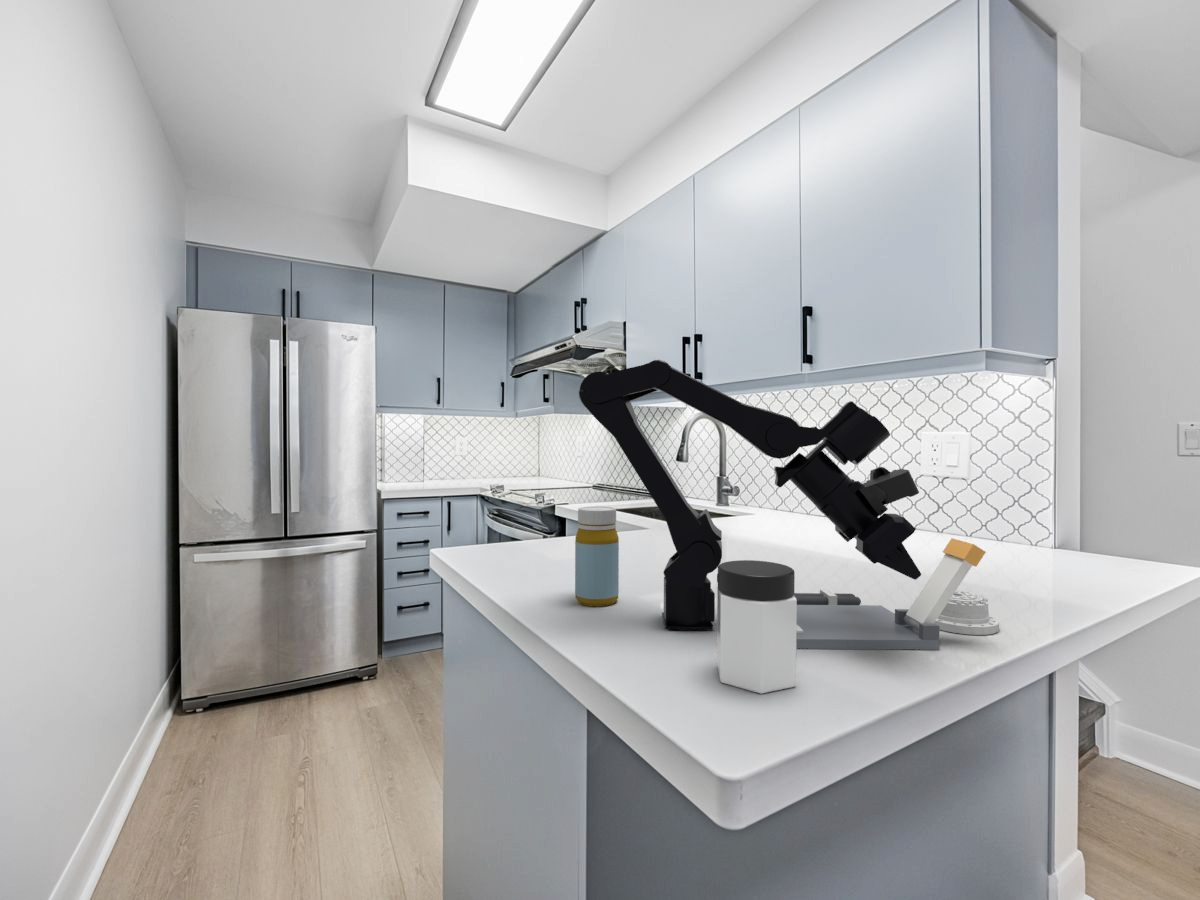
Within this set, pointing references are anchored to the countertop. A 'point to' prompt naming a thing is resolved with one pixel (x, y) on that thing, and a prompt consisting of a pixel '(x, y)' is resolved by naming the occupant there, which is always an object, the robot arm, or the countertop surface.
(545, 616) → the countertop surface
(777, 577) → the jar
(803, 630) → the plate
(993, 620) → the mechanical component
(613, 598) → the bottle
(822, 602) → the dressed cords
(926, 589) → the lever
